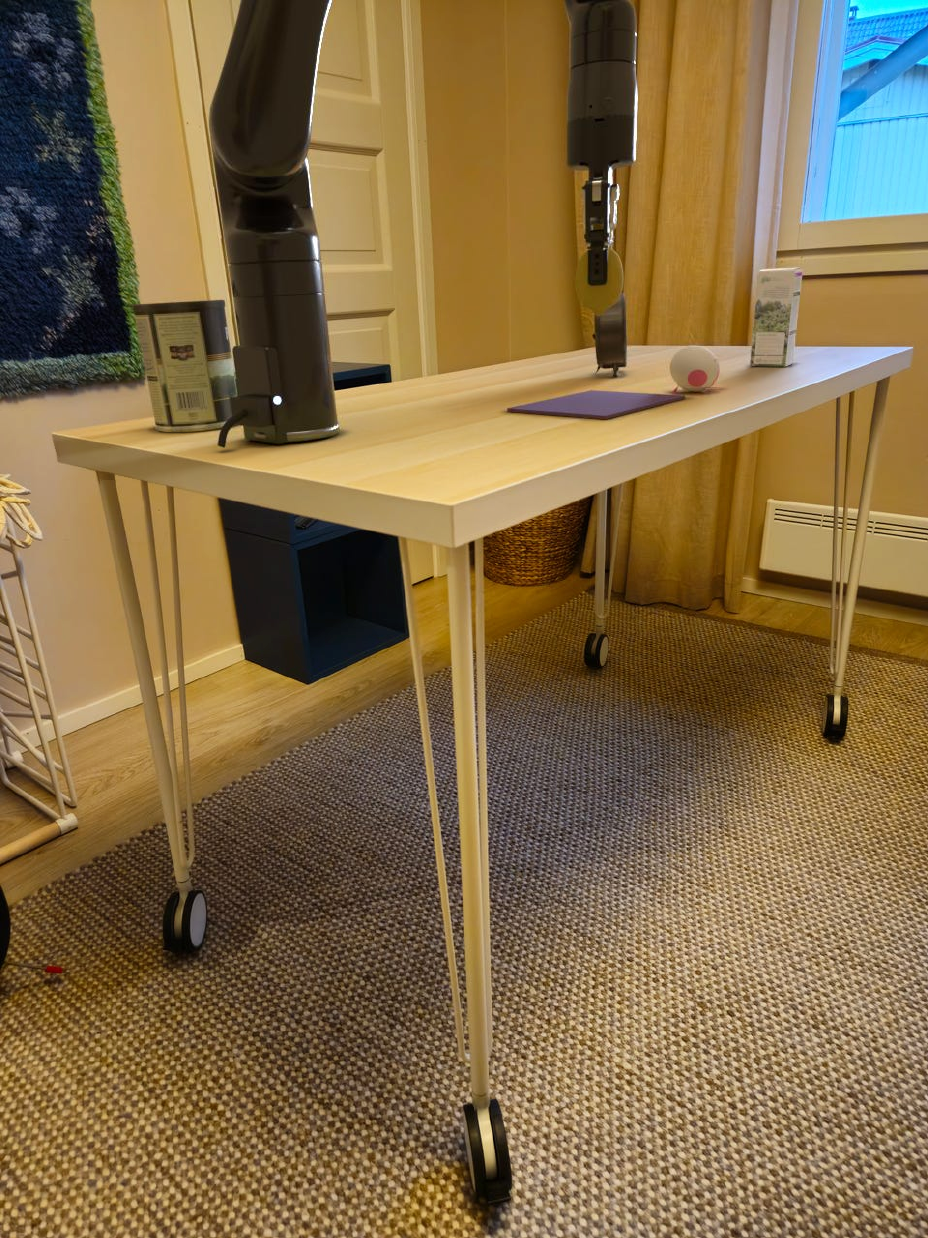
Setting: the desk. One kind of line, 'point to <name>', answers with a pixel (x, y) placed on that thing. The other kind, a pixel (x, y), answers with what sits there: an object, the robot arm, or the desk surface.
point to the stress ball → (694, 368)
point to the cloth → (596, 404)
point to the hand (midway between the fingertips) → (599, 284)
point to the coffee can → (187, 363)
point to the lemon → (599, 295)
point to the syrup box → (775, 316)
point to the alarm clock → (611, 337)
